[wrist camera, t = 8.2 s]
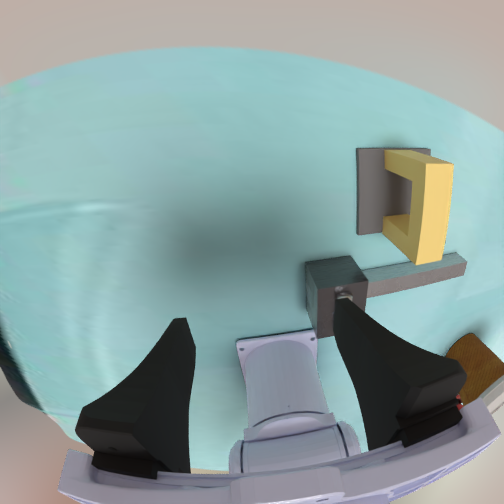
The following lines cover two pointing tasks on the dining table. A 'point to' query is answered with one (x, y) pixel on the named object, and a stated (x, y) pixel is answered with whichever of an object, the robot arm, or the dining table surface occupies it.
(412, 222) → the yellow pull handle
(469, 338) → the disposable coffee cup
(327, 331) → the grey block with bar
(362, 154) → the rubber mat
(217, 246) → the dining table surface
